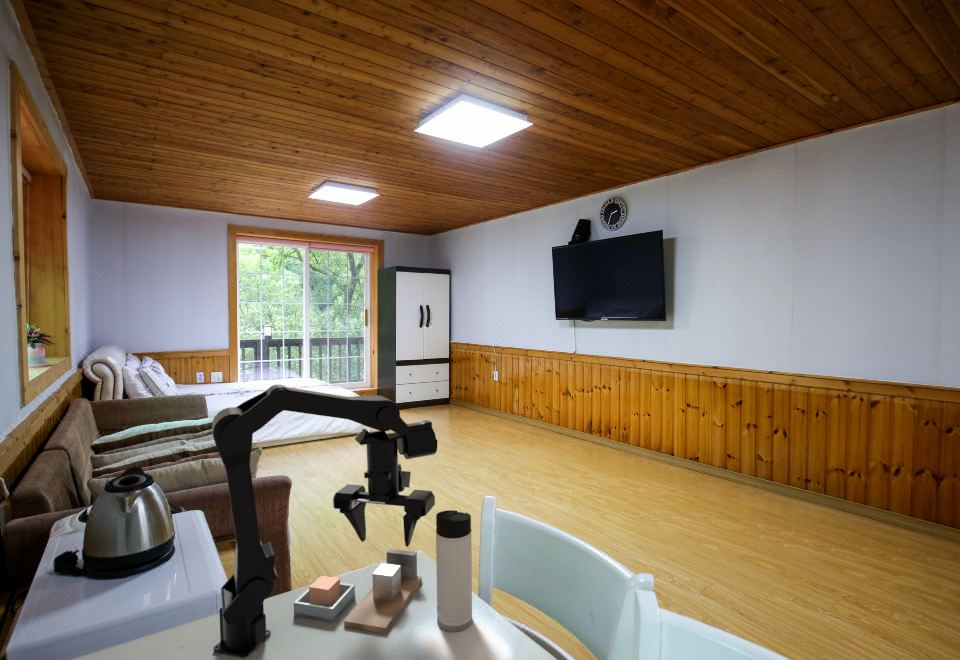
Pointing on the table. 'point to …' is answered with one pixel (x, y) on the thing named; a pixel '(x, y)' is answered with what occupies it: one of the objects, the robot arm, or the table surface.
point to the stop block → (325, 591)
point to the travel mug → (454, 570)
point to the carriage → (386, 582)
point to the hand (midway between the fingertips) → (385, 543)
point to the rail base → (384, 613)
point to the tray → (324, 612)
